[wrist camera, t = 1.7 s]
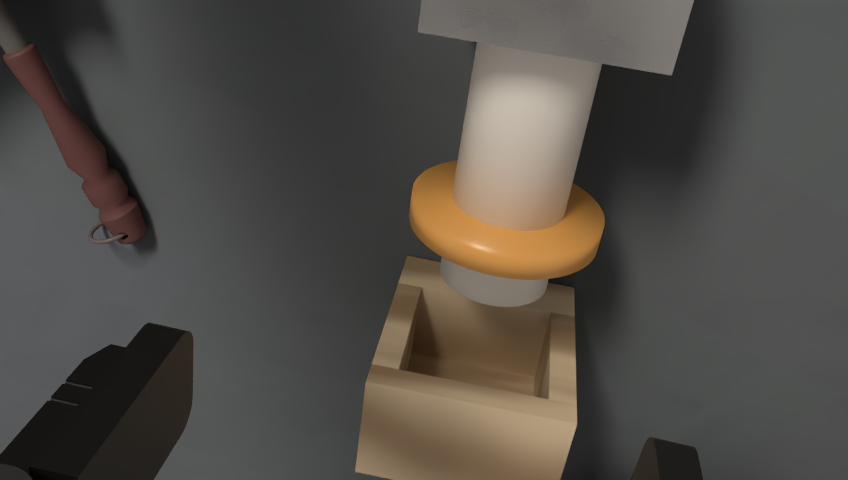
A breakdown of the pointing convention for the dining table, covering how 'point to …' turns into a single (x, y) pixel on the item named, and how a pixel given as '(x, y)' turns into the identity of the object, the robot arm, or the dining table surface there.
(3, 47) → the coffee pot
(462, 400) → the socket
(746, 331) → the dining table surface
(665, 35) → the grey block
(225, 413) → the dining table surface
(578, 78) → the tube
